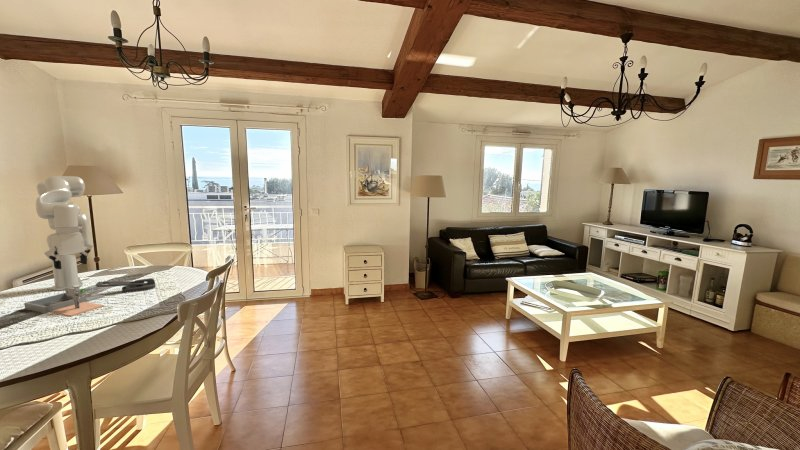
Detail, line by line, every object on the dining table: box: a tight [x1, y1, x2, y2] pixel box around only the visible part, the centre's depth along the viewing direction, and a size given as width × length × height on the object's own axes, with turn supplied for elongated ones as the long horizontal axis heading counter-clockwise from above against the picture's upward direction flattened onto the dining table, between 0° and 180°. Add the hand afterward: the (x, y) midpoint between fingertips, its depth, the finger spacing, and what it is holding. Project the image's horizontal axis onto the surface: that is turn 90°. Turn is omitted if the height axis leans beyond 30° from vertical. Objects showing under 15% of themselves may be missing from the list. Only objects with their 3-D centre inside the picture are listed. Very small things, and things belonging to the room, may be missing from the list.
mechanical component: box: [64, 286, 87, 309], centre depth 155 cm, size 3×10×10 cm, turn 77°
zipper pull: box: [95, 277, 156, 294], centre depth 182 cm, size 9×7×25 cm
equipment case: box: [23, 291, 106, 314], centre depth 164 cm, size 24×16×3 cm, turn 163°
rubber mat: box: [50, 301, 105, 317], centre depth 156 cm, size 13×14×1 cm
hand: (71, 266), depth 155 cm, fingers open, 9 cm apart
